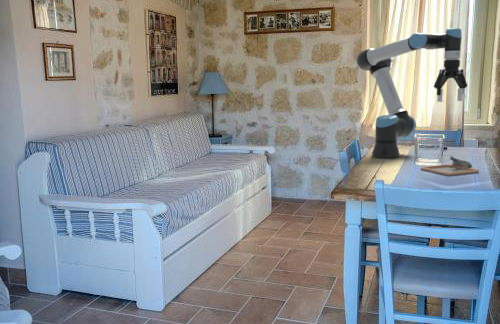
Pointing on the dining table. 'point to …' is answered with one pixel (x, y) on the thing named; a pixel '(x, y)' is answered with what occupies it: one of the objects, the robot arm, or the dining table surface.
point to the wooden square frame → (449, 169)
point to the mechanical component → (460, 162)
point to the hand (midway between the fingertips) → (449, 101)
